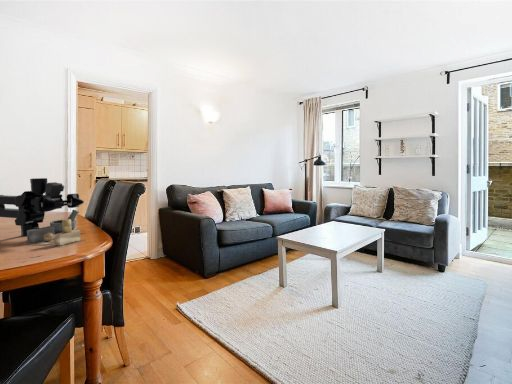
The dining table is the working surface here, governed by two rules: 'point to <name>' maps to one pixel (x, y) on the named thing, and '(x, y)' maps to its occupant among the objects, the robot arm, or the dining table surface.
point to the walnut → (48, 236)
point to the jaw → (66, 234)
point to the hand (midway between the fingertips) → (74, 203)
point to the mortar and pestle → (58, 223)
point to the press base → (37, 239)
